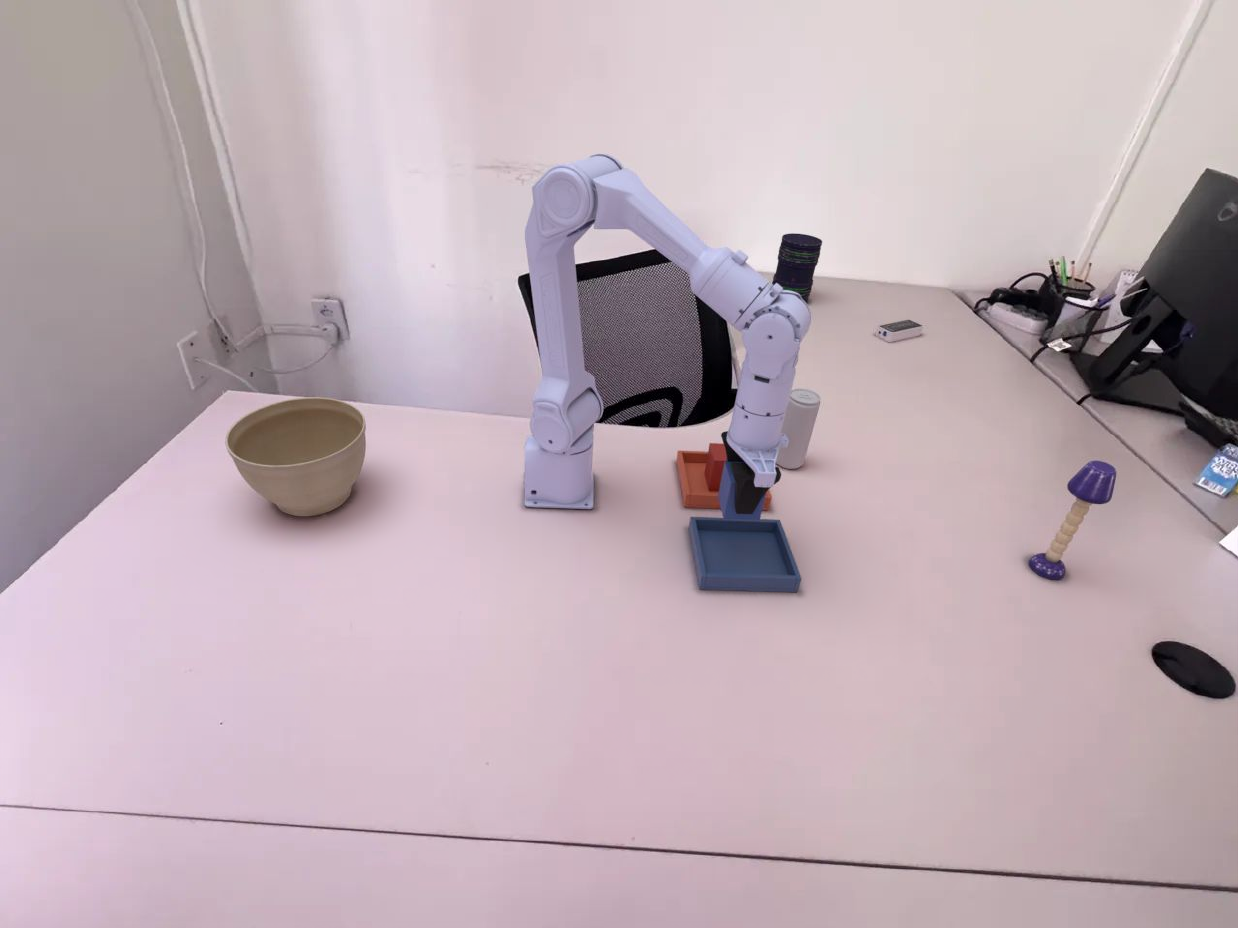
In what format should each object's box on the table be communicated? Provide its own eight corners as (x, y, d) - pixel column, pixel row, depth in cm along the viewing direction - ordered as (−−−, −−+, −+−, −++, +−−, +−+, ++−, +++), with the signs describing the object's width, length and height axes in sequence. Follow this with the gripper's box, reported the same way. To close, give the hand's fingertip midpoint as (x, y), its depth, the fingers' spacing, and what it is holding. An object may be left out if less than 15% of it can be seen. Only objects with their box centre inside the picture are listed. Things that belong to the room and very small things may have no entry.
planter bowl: (227, 493, 88) (203, 424, 82) (340, 449, 98) (327, 385, 92) (281, 553, 79) (259, 481, 73) (399, 498, 89) (389, 431, 83)
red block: (708, 491, 95) (714, 460, 92) (704, 473, 99) (709, 442, 96) (738, 492, 95) (745, 461, 92) (733, 474, 99) (739, 444, 96)
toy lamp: (1048, 585, 84) (1112, 481, 75) (1016, 562, 87) (1073, 459, 78) (1070, 574, 86) (1135, 472, 77) (1038, 552, 89) (1096, 451, 80)
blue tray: (699, 589, 79) (701, 576, 78) (688, 529, 88) (690, 516, 87) (797, 592, 80) (801, 578, 79) (776, 532, 89) (780, 519, 88)
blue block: (723, 519, 79) (731, 482, 76) (717, 496, 83) (724, 461, 80) (759, 520, 80) (768, 484, 77) (752, 497, 83) (760, 462, 80)
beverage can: (803, 472, 101) (822, 405, 95) (772, 467, 102) (789, 400, 95) (802, 456, 105) (820, 390, 99) (772, 451, 106) (788, 385, 99)
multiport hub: (921, 335, 152) (924, 326, 151) (889, 342, 147) (892, 333, 146) (905, 328, 155) (908, 319, 154) (874, 335, 150) (877, 325, 149)
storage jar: (769, 302, 163) (782, 242, 154) (768, 289, 171) (780, 231, 163) (810, 307, 162) (824, 247, 154) (807, 294, 170) (821, 236, 162)
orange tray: (684, 507, 92) (686, 494, 91) (676, 462, 101) (677, 450, 100) (768, 510, 93) (772, 497, 92) (753, 465, 102) (755, 453, 101)
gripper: (814, 439, 67) (786, 539, 75) (780, 375, 79) (759, 467, 87) (746, 437, 67) (725, 537, 74) (723, 372, 79) (707, 465, 86)
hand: (740, 499), depth 81 cm, fingers closed on blue block, 4 cm apart
